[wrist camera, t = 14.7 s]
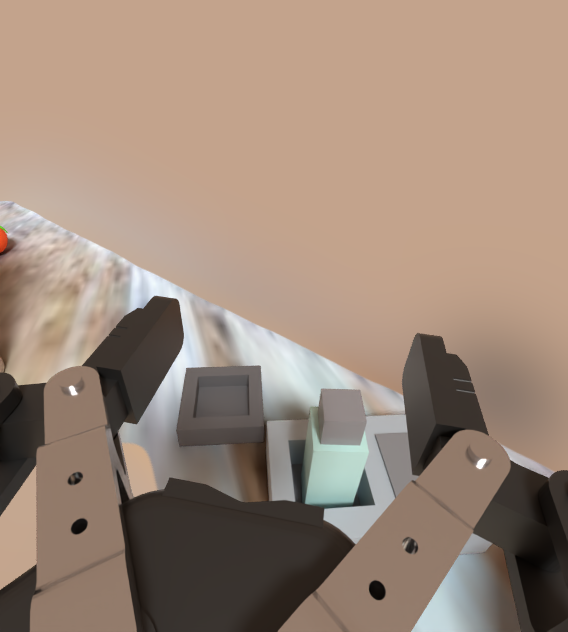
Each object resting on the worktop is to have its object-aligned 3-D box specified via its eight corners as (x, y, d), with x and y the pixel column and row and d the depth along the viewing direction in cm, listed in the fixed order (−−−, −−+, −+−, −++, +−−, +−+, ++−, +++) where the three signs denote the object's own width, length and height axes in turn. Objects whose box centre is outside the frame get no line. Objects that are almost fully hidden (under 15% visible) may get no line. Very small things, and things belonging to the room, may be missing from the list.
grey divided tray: (273, 570, 33) (275, 542, 30) (265, 451, 43) (266, 419, 39) (484, 552, 35) (509, 524, 32) (432, 442, 45) (447, 410, 41)
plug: (302, 517, 36) (317, 427, 28) (301, 474, 40) (313, 382, 31) (348, 518, 36) (376, 429, 28) (342, 475, 40) (366, 384, 31)
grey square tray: (179, 446, 43) (176, 430, 41) (188, 383, 50) (186, 367, 49) (263, 442, 44) (264, 426, 42) (260, 381, 51) (260, 365, 50)
